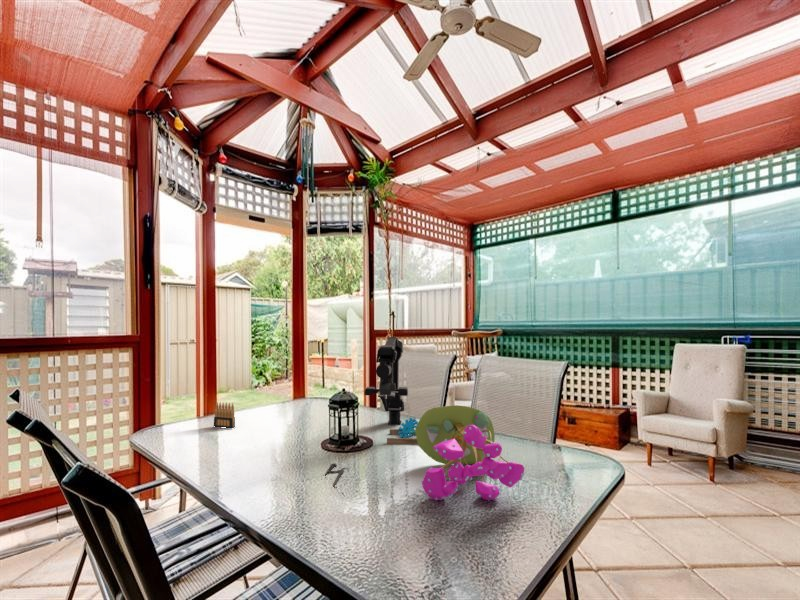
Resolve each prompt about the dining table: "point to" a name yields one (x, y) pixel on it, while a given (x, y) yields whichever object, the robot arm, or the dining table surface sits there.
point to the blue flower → (408, 428)
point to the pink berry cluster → (462, 452)
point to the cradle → (400, 440)
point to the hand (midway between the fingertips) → (386, 411)
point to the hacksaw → (335, 472)
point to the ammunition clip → (224, 416)
